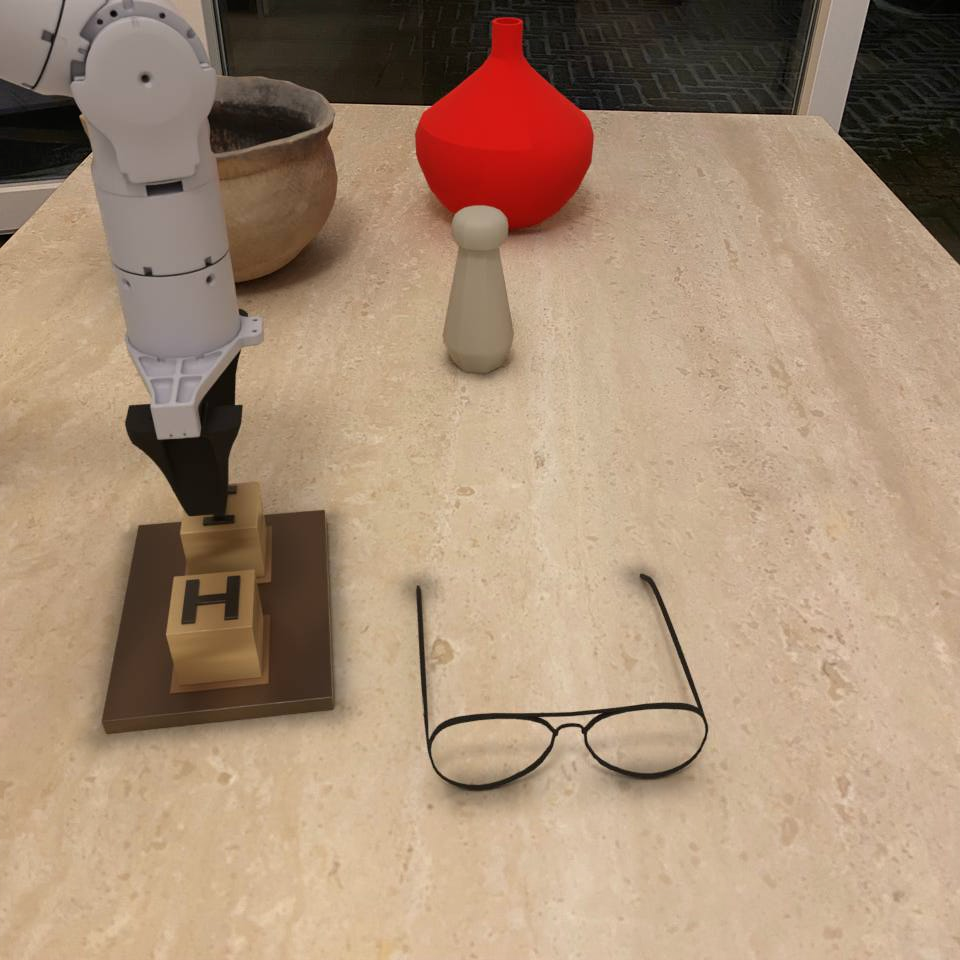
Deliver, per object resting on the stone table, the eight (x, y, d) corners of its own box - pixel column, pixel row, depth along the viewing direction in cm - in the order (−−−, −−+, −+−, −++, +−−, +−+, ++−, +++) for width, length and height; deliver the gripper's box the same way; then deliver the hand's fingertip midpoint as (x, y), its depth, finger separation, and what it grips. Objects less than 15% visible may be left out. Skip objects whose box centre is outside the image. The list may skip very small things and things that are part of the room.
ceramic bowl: (115, 228, 103) (81, 77, 94) (325, 207, 108) (312, 61, 98) (116, 332, 86) (74, 161, 77) (365, 301, 91) (353, 136, 82)
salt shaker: (435, 348, 85) (432, 200, 77) (499, 338, 86) (503, 192, 78) (454, 384, 80) (454, 231, 72) (522, 373, 82) (528, 222, 74)
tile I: (191, 583, 60) (179, 531, 58) (196, 536, 64) (185, 484, 61) (265, 576, 61) (256, 524, 58) (266, 530, 64) (258, 478, 62)
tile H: (179, 686, 54) (164, 632, 51) (185, 627, 57) (173, 573, 55) (261, 677, 55) (251, 623, 52) (263, 619, 58) (254, 566, 55)
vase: (622, 212, 108) (642, 22, 96) (508, 265, 97) (515, 59, 85) (497, 167, 118) (501, -10, 106) (381, 211, 107) (371, 20, 95)
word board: (105, 734, 53) (100, 720, 52) (141, 536, 65) (137, 523, 65) (333, 709, 54) (332, 696, 54) (326, 520, 67) (324, 507, 66)
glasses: (425, 795, 50) (422, 722, 47) (416, 609, 63) (414, 543, 60) (705, 776, 51) (718, 704, 48) (641, 597, 64) (647, 532, 61)
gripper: (247, 317, 44) (279, 545, 53) (256, 191, 56) (282, 396, 64) (82, 326, 44) (142, 557, 52) (126, 197, 55) (169, 403, 63)
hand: (211, 469), depth 58 cm, fingers open, 7 cm apart
